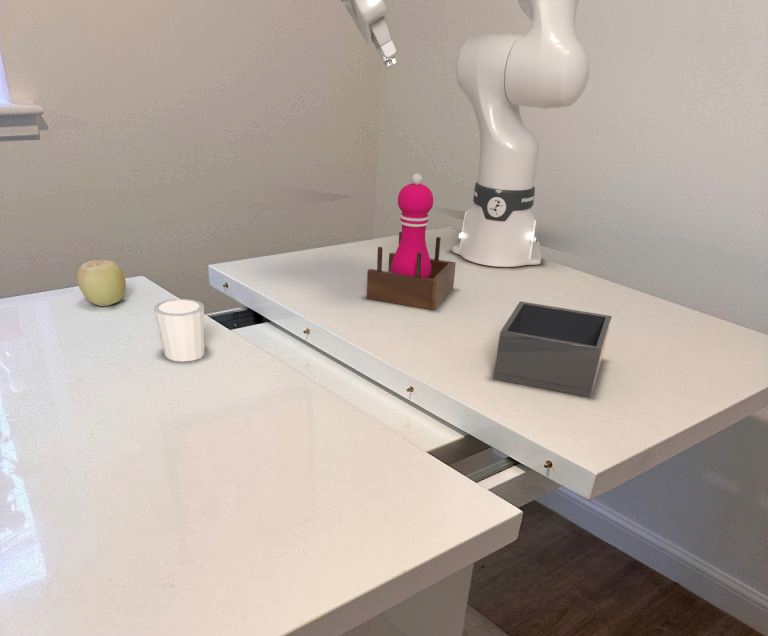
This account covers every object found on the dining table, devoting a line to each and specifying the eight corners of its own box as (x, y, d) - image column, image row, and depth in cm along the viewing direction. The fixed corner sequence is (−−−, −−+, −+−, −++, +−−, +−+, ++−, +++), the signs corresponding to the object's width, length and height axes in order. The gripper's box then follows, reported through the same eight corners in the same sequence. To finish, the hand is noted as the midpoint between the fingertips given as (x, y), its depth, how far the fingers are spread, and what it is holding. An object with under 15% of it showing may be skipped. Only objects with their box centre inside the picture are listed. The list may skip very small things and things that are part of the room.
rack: (389, 279, 136) (391, 230, 130) (453, 289, 132) (458, 239, 127) (366, 298, 126) (368, 246, 121) (434, 310, 123) (438, 256, 118)
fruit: (138, 303, 120) (130, 254, 115) (98, 314, 115) (89, 263, 110) (111, 292, 123) (103, 244, 119) (72, 302, 119) (62, 252, 114)
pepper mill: (414, 303, 125) (422, 180, 114) (381, 293, 129) (386, 173, 117) (437, 293, 130) (447, 174, 118) (405, 284, 134) (412, 167, 122)
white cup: (192, 340, 108) (187, 294, 104) (218, 355, 104) (213, 307, 100) (151, 352, 104) (143, 304, 100) (176, 367, 100) (170, 319, 96)
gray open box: (512, 345, 112) (519, 301, 108) (601, 360, 108) (611, 315, 104) (493, 379, 101) (500, 331, 97) (590, 397, 98) (601, 349, 94)
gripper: (363, -72, 95) (411, 37, 100) (369, -29, 114) (409, 60, 118) (322, -44, 96) (371, 62, 101) (334, -7, 115) (375, 81, 120)
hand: (392, 61), depth 110 cm, fingers open, 8 cm apart
